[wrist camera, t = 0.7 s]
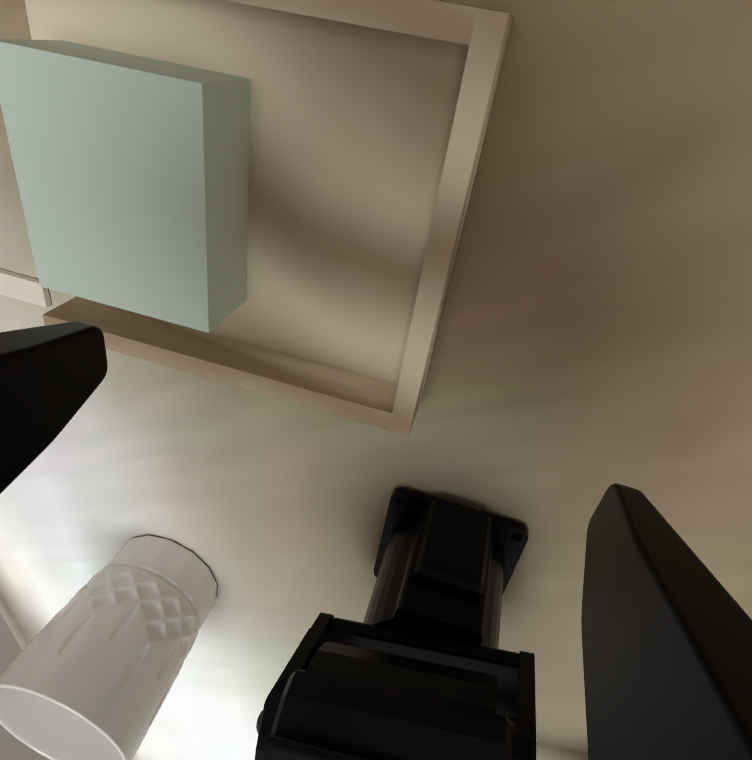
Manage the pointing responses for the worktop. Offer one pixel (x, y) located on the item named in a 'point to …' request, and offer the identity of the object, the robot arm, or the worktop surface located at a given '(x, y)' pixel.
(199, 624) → the white cup
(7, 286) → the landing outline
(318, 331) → the shallow beige tray
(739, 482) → the worktop surface
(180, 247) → the pale green block
